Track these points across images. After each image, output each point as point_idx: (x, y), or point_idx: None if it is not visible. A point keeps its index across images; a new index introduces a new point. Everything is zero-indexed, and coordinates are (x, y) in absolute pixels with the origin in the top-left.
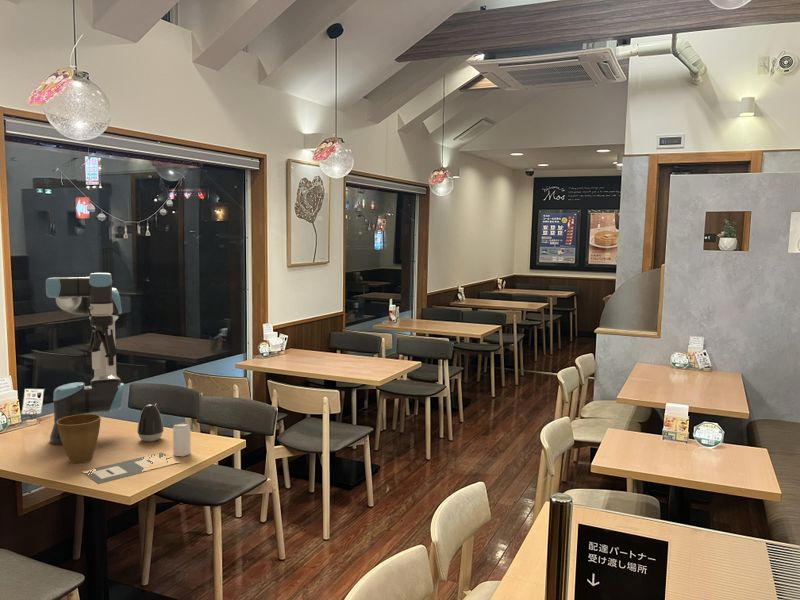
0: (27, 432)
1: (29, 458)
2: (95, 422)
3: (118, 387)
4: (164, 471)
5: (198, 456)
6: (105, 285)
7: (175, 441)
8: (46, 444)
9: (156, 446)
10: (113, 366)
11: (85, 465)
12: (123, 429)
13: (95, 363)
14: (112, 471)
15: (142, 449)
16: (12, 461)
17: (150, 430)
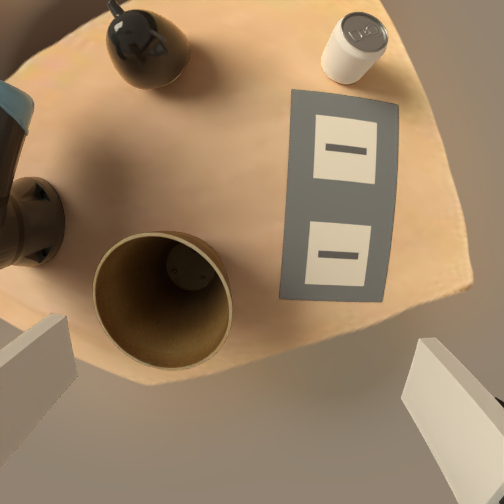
0: None
1: (106, 336)
2: (222, 274)
3: None
4: (421, 163)
5: None
6: None
7: (360, 71)
8: (37, 273)
9: (227, 74)
10: (469, 383)
11: (241, 274)
12: (41, 97)
13: (45, 382)
14: (339, 248)
15: (223, 111)
16: (107, 362)
17: (181, 62)
